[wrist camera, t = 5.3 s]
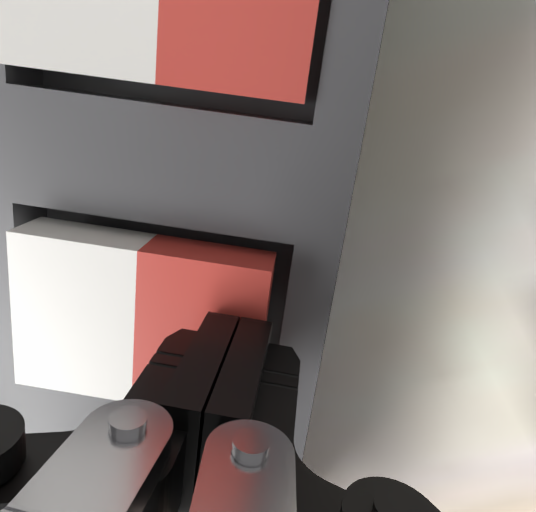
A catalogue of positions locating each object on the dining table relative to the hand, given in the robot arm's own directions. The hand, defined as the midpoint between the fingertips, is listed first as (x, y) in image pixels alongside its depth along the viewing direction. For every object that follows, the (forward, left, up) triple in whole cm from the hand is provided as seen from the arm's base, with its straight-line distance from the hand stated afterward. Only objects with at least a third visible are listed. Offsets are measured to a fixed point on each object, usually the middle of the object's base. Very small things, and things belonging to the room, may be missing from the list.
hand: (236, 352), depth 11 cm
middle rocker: (0, -2, -1) cm, 3 cm away
